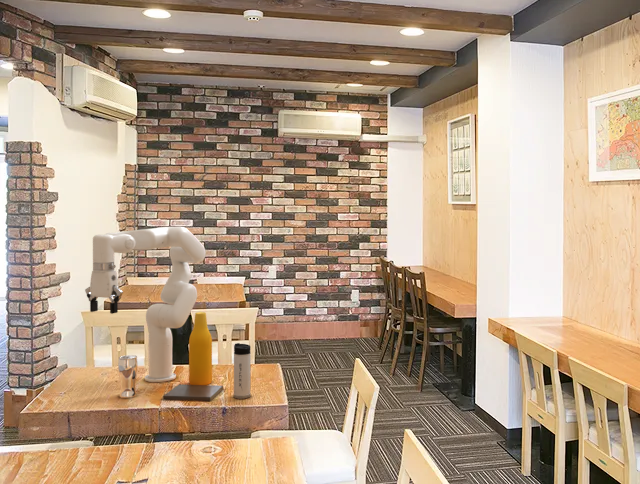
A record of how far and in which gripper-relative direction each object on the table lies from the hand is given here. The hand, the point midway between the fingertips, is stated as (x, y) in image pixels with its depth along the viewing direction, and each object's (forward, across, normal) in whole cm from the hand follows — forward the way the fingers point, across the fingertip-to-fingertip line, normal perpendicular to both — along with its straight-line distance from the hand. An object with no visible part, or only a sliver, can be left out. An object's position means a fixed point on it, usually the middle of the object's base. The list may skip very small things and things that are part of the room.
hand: (103, 312), depth 242 cm
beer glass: (+32, -8, -3) cm, 33 cm away
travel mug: (+32, -48, -20) cm, 61 cm away
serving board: (+32, -30, -15) cm, 46 cm away
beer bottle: (+32, -22, -30) cm, 49 cm away
